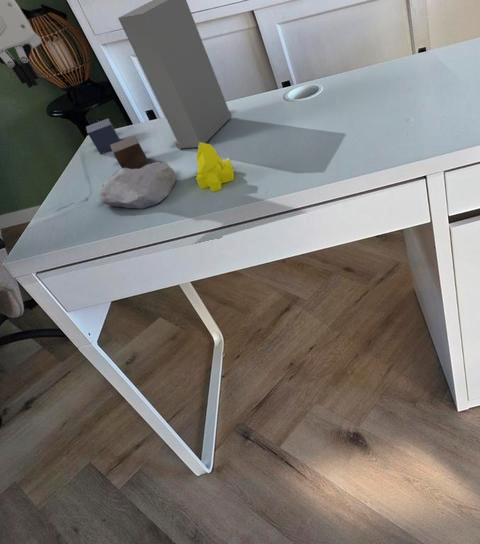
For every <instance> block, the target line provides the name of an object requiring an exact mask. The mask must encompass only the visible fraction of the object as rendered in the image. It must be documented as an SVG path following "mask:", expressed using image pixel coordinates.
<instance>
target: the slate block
mask: <svg viewBox="0 0 480 544" xmlns="http://www.w3.org/2000/svg"><path fill="white" fill-rule="evenodd" d="M85 129H86V132H87V135H88V136H89V138H90V139H91V142H92V143H93V145H94V146H95V149H96V150H97V151H98V153H99V154H100V155H102V154H105V153H107V152H110V151H112V149H111V146H110V145H111V144H114V143H116V142H119V141H121V140H122V139H121V138H120V136H119V134H118V133H117V131H116V130H115V129H116V128H115V127H114V125H113V124H112V122H111V120H110V118H108V117H107V118H106V119H103V120H100V121H98V122H94V123H92V124H89V125H87V126H85Z"/></svg>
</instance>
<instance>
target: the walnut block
mask: <svg viewBox="0 0 480 544" xmlns="http://www.w3.org/2000/svg"><path fill="white" fill-rule="evenodd" d="M120 140H121V141H119V142H116V143H114V144H111V145H110V146H111V149H112V150H111V152H112V154H113V156H114V157H115V160H116V161H117V163H118V164H119V166H120V169H122V168H129V169H140V168H142V167H144V166H145V165H147V164H151V163H150V161H149V159H148V157H147V155H146V154H145V152H144V150H143V148H142V146H141V143H140V142H139V140H138V139H137V136H136V135H132V136H129V137H127V138H124V139H120Z"/></svg>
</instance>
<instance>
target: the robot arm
mask: <svg viewBox="0 0 480 544" xmlns="http://www.w3.org/2000/svg"><path fill="white" fill-rule="evenodd" d="M41 44H42V39H41V38H40V36H39V35H38V34H37V33H36V32H35V30H34V29H33V27H32V25H31V23H30V21H29V20H28V18H27V16H26V15H25V14H24V12H23V10H22V9H21V8H20V6H19V4H18V3H17V2H16V0H0V64H3V65H5V66H7V67H9V68H11V69H12V71H13V72H14V74H15V75H16V76H17V78H18V80H19V81H20V83H21V84H22V85H24V84H26V87H28V89H29V88H33V86H35V87H36V86H38V85H39V82H38V79H40V77H39V74H38V73H37V72H36V70H35V68H34V67H33V65H32V63H31V62H30V60H29V59H30V56H31V51H32V50H34V49H36V48H37V47H38V46H39V45H41ZM11 48H14V49H15V51H16V54H17V56H18V58H19V62H18V60H16V59H15V58H14V57H13V56H12V55H11V53H10V52H9V51H8V50H7V49H11Z"/></svg>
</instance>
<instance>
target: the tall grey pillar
mask: <svg viewBox="0 0 480 544" xmlns="http://www.w3.org/2000/svg"><path fill="white" fill-rule="evenodd" d="M117 19H118V21H119V23H120V25H121V27H122V29H123V31H124V33H125V36H126V37H127V40H128V41H129V44H130V45H131V48H132V50H133V52H134V55H135V56H136V58H137V61H138V62H139V64H140V66H141V69H142V71H143V73H144V75H145V77H146V79H147V82H148V84H149V85H150V87H151V91H152V92H153V94H154V97H155V98H156V100H157V102H158V104H159V106H160V108H161V110H162V113H163V114H164V117H165V119H166V121H167V123H168V126H169V127H170V129H171V131H172V133H173V135H174V138H175V140H176V142H175V146H176V148H177V149H180V150H183V149H191V148H198V146H199V142H202V143H206V144H207V142H208V141H209V140H210V139H212V137H213V136H214V135H215V134H216V133H217V132H218V131H219V130H220V129H221V128H222V127H223V126H224V125H225V124H226V123H227V122H228V121H230V120H231V118H232V117H233V115H232V113H231V111H230V110H229V107H228V104H227V101H226V100H225V97H224V94H223V92H222V89H221V86H220V84H219V81H218V78H217V76H216V74H215V71H214V68H213V66H212V64H211V60H210V58H209V56H208V53H207V51H206V47H205V45H204V41H203V40H202V38H201V35H200V31H199V30H198V27H197V25H196V21H195V19H194V16H193V14H192V12H191V9H190V6H189V4H188V1H187V0H150V1H148V2H146V3H144V4H142V5H141V6H138V7H136V8H135V9H133V10H130V11H129V12H127V13H125V14H122V15H121V16H119V17H118V18H117Z"/></svg>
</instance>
